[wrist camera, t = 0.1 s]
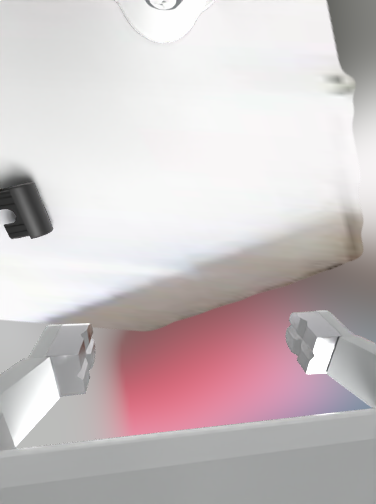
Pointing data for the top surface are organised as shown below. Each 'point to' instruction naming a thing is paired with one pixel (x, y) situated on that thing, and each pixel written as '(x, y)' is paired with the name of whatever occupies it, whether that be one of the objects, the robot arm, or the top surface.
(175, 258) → the top surface
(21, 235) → the end cap
